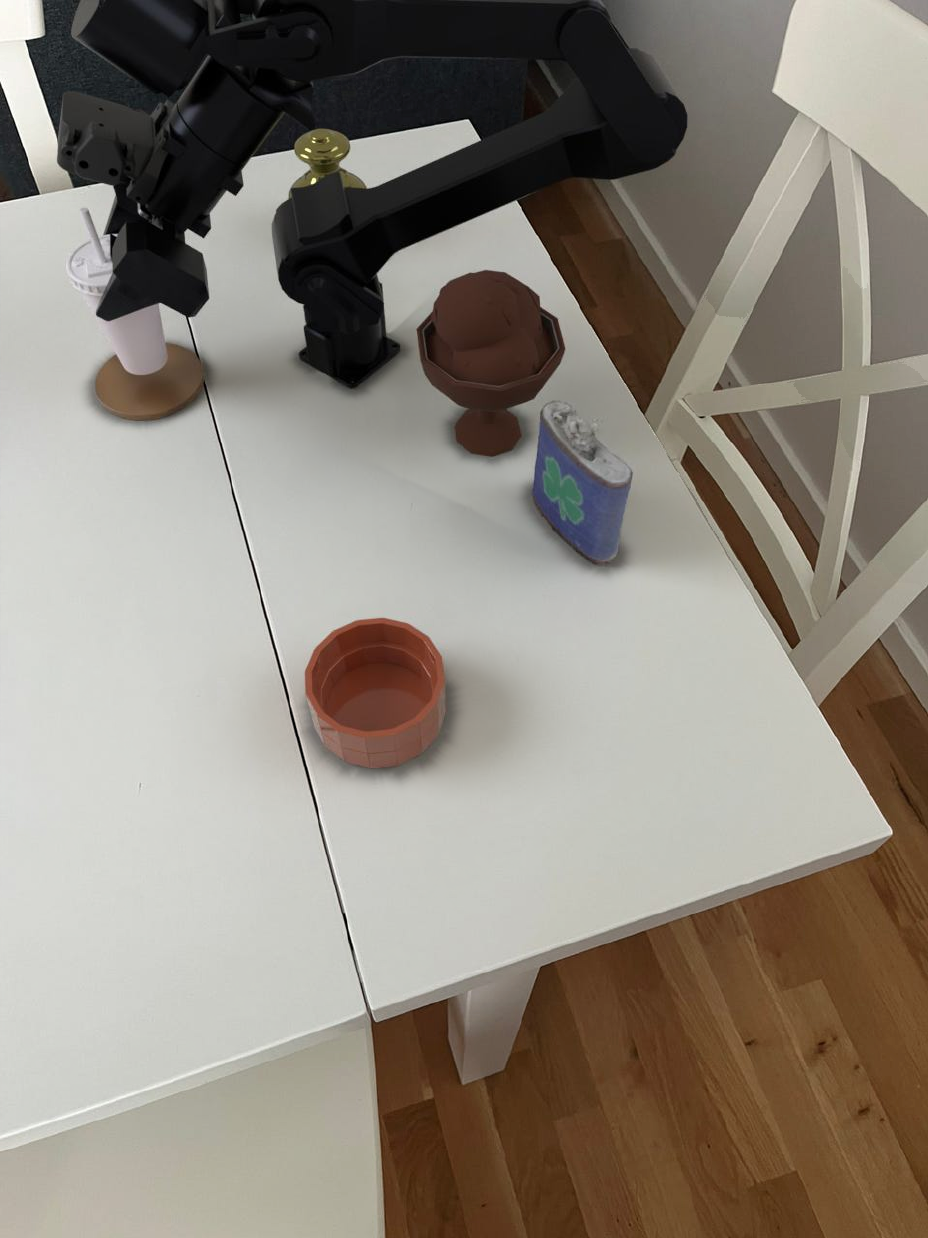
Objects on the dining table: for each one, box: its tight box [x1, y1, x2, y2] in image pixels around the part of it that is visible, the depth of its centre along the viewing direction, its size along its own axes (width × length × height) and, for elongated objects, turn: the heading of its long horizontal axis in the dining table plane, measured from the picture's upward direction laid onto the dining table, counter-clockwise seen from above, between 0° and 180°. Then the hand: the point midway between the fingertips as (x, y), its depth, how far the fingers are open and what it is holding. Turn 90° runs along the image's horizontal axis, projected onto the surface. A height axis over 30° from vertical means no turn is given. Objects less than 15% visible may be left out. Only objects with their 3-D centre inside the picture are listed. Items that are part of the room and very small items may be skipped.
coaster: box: [94, 342, 205, 421], centre depth 83 cm, size 9×9×1 cm
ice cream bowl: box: [416, 269, 566, 457], centre depth 74 cm, size 11×11×15 cm
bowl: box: [304, 617, 447, 769], centre depth 64 cm, size 9×9×4 cm
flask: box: [531, 400, 634, 567], centre depth 70 cm, size 9×3×11 cm, turn 32°
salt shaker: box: [287, 128, 368, 200], centre depth 91 cm, size 7×7×10 cm
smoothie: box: [65, 207, 168, 375], centre depth 76 cm, size 6×6×14 cm
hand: (101, 289), depth 75 cm, fingers closed on smoothie, 6 cm apart
